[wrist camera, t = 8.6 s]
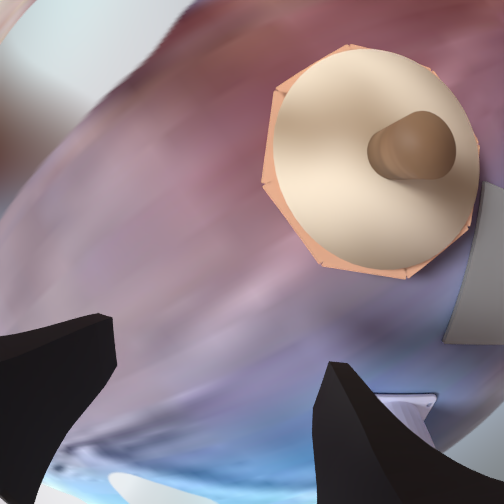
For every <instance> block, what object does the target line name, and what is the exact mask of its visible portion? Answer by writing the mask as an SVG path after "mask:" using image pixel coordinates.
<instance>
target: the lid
mask: <svg viewBox="0 0 504 504" xmlns="http://www.w3.org/2000/svg"><path fill="white" fill-rule="evenodd" d="M273 158H274V165H275V171H276V176H277V179H278V182H279V186H280V189H281V192H282V194H283V196H284V199H285V201H286V203H287V205H288V207H289V208H290V210H291V212H292V214H293V215H294V217H295V218H296V220H297V221H298V222H299V224H300V225H301V226H302V228H303V229H304V230H305V231H306V232H307V233H308V234H309V235H310V236H311V237H312V238H313V239H314V240H315V241H316V242H317V243H318V244H319V245H321V246H322V247H323V248H325V249H326V250H327V251H329V252H330V253H332V254H334V255H335V256H337V257H339V258H340V259H343V260H345V261H347V262H350V263H352V264H355V265H358V266H362V267H365V268H371V269H379V270H394V269H401V268H407V267H410V266H414V265H417V264H420V263H422V262H424V261H426V260H428V259H430V258H432V257H434V256H435V255H437V254H438V253H440V252H441V251H442V250H443V249H445V248H446V247H447V246H448V245H449V244H450V243H451V242H452V241H453V240H454V239H455V237H456V236H457V235H458V234H459V233H460V231H461V230H462V228H463V227H464V225H465V223H466V222H467V220H468V217H469V215H470V213H471V211H472V208H473V205H474V202H475V199H476V195H477V190H478V184H479V155H478V148H477V143H476V140H475V136H474V132H473V130H472V127H471V124H470V122H469V119H468V117H467V115H466V113H465V111H464V110H463V108H462V106H461V105H460V103H459V102H458V100H457V99H456V97H455V96H454V94H453V93H452V92H451V91H450V90H449V88H448V87H447V86H446V85H445V84H444V83H443V82H442V81H441V80H440V79H439V78H438V77H437V76H435V75H434V74H433V73H432V72H430V71H429V70H428V69H426V68H425V67H423V66H421V65H420V64H418V63H416V62H415V61H413V60H411V59H408V58H406V57H404V56H401V55H398V54H395V53H391V52H388V51H382V50H375V49H357V50H349V51H344V52H340V53H337V54H334V55H331V56H329V57H327V58H325V59H322V60H321V61H319V62H317V63H316V64H314V65H313V66H311V67H310V68H309V69H308V70H307V71H305V72H304V73H303V74H302V75H301V76H300V77H299V78H298V79H297V81H296V82H295V83H294V84H293V85H292V87H291V88H290V90H289V91H288V93H287V95H286V96H285V98H284V100H283V103H282V105H281V107H280V110H279V112H278V116H277V120H276V124H275V129H274V138H273Z"/></svg>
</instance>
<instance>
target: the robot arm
mask: <svg viewBox="0 0 504 504" xmlns="http://www.w3.org/2000/svg"><path fill="white" fill-rule="evenodd" d="M116 366H117V360H116V351H115V342H114V331H113V319H112V317H109V316H106V315H102V314H99V313H97V314H91V315H87V316H83V317H79V318H75V319H72V320H68V321H65V322H61V323H58V324H54V325H51V326H47V327H43V328H39V329H35V330H31V331H27V332H22V333H18V334H12V335H6V336H0V498H1V499H3V500H4V501H5V502H6V503H7V504H34V502H35V499H36V496H37V493H38V490H39V487H40V485H41V482H42V480H43V478H44V475H45V473H46V471H47V469H48V467H49V465H50V463H51V461H52V459H53V457H54V455H55V453H56V451H57V449H58V448H59V446H60V444H61V443H62V441H63V439H64V437H65V436H66V434H67V433H68V431H69V430H70V429H71V427H72V426H73V425H74V423H75V422H76V421H77V420H78V418H79V417H80V416H81V415H82V414H83V412H84V411H85V410H86V409H87V407H88V406H89V405H90V404H91V403H92V401H93V400H94V399H95V398H96V396H97V395H98V394H99V393H100V392H101V390H102V389H103V388H104V386H105V385H106V383H107V382H108V380H109V379H110V377H111V375H112V373H113V372H114V370H115V368H116ZM436 399H437V397H436V395H435V394H412V395H390V394H374V393H373V392H372V391H371V389H370V388H369V387H368V386H367V385H366V384H365V383H364V381H363V380H362V379H361V378H360V377H359V376H358V374H357V373H356V372H355V371H354V370H353V369H352V367H351V366H350V365H349V364H348V363H340V362H330V361H329V363H328V366H327V369H326V372H325V375H324V378H323V381H322V384H321V387H320V390H319V393H318V395H317V398H316V401H315V404H314V406H313V420H312V439H313V450H314V461H315V472H316V483H317V504H504V482H503V481H500V480H496V479H493V478H490V477H488V476H485V475H482V474H480V473H478V472H476V471H473V470H471V469H469V468H467V467H465V466H463V465H461V464H459V463H457V462H456V461H454V460H452V459H451V458H449V457H447V456H446V455H444V454H442V453H441V452H439V451H438V450H436V448H435V445H434V443H433V441H432V439H431V436H430V434H429V432H428V430H427V427H426V425H425V423H424V420H425V418H426V416H427V415H428V413H429V411H430V410H431V408H432V406H433V405H434V403H435V401H436Z"/></svg>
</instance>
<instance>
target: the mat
mask: <svg viewBox="0 0 504 504" xmlns="http://www.w3.org/2000/svg"><path fill="white" fill-rule="evenodd" d="M442 342H443V343H444V344H469V345H504V189H502V188H500V187H497V186H495V185H493V184H490V183H488V182H484V181H482V190H481V198H480V205H479V211H478V217H477V223H476V228H475V233H474V238H473V243H472V247H471V251H470V256H469V260H468V264H467V267H466V271H465V275H464V278H463V282H462V285H461V289H460V292H459V295H458V298H457V301H456V304H455V307H454V310H453V313H452V316H451V319H450V321H449V324H448V327H447V329H446V332H445V335H444V337H443V340H442Z"/></svg>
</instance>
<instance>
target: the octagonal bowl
mask: <svg viewBox="0 0 504 504" xmlns="http://www.w3.org/2000/svg"><path fill="white" fill-rule="evenodd" d="M357 49H369V48H365V47H361V46H357V45H353V44H350V46H348V45H345V46H343V47H341V48H340V49H338V50H336V51H334V52H332V53H331V54H329V55H327V56H326V57H324V58H322V59H325V58H327V57H329V56H331V55H334V54H337V53H340V52H344V51H349V50H357ZM322 59H320V60H319V61H321V60H322ZM319 61H317V62H319ZM317 62H315V63H314V64H316V63H317ZM314 64H312V65H311V66H313V65H314ZM311 66H309V67H307V68H306V69H304V70H302V71H301V72H299V73H298V74H296V75H295V76H293V77H291V78H290V79H288V80H287V81H285V82H284V83H282V84H281V85H279V86H278V87H276V91H274V94H273V101H272V108H271V116H270V123H269V130H268V137H267V144H266V152H265V159H264V166H263V173H262V180H261V183H266V184H265V185H264V186H262V187H263V188H264V190H265V191H266V192H267V194H268V195H269V196H270V198H271V199H272V200H273V202H274V203H275V204H276V206H277V207H278V208H279V210H280V211H281V212H282V214H283V215H284V217H285V218H286V219H287V221H288V222H289V223H290V225H291V226H292V227H293V229H294V230H295V232H296V233H297V234H298V236H299V237H300V238H301V240H302V241H303V243H304V244H305V245H306V247H307V248H308V250H309V251H310V252H311V254H312V255H313V257H314V258H315V259H316V261H317V262H318V264H320V263H321V265H322V266H323V267H330V268H336V269H342V270H349V271H355V272H361V273H368V274H374V275H380V276H387V277H393V278H399V279H406V277H407V278H410V277H411V276H412V275H414V274H415V273H416V272H418V271H419V270H420V269H422V268H423V267H424V266H425V265H427V264H428V263H429V262H430V261H432V260H433V259H434V258H435V257H437V256H438V255H439V254H440V253H441V252H443V251H444V250H445V249H446V248H447V247H449V246H450V245H451V244H452V243H453V242H454V241H456V240H457V239H458V238H459V237H460V236H461V235H463V234H464V233H465V232H466V231H467V230H468V227H467V226H470V224H471V218H472V212H473V208H472V211H471V213H470V215H469V217H468V220H467V222H466V223H465V225H464V227H463V228H462V230H461V231H460V233H459V234H458V235H457V236H456V237H455V239H454V240H453V241H452V242H451V243H450V244H449V245H448V246H447V247H446V248H445V249H443V250H442V251H441V252H440V253H438V254H437V255H435V256H434V257H432V258H430V259H428V260H426V261H424V262H422V263H420V264H417V265H414V266H410V267H407V268H401V269H394V270H379V269H371V268H365V267H362V266H358V265H355V264H352V263H350V262H347V261H345V260H343V259H340V258H339V257H337V256H335V255H334V254H332V253H330V252H329V251H327V250H326V249H325V248H323V247H322V246H321V245H319V244H318V243H317V242H316V241H315V240H314V239H313V238H312V237H311V236H310V235H309V234H308V233H307V232H306V231H305V230H304V229H303V228H302V226H301V225H300V224H299V222H298V221H297V220H296V218H295V217H294V215H293V214H292V212H291V210H290V208H289V207H288V205H287V203H286V201H285V199H284V196H283V194H282V192H281V189H280V186H279V182H278V179H277V176H276V171H275V165H274V158H273V138H274V129H275V124H276V120H277V116H278V112H279V110H280V107H281V105H282V103H283V100H284V98H285V96H286V95H287V93H288V91H289V90H290V88H291V87H292V85H293V84H294V83H295V82H296V81H297V79H298V78H299V77H300V76H301V75H302V74H303V73H304V72H305V71H307V70H308V69H309V68H310V67H311ZM421 66H423V65H421ZM423 67H425V68H426V69H428V70H429V71H430V72H431V68H428V67H426V66H423ZM432 73H433V74H434V75H435V76H437V75H436V73H435V72H434V71H432ZM437 77H438V76H437ZM438 78H439V77H438ZM474 136H475V134H474ZM475 140H476V143H477V144H478V143H479V142H478V140H477V138H476V136H475ZM477 148H478V155H479V148H480V146H479V145H477ZM473 206H474V205H473Z"/></svg>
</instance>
